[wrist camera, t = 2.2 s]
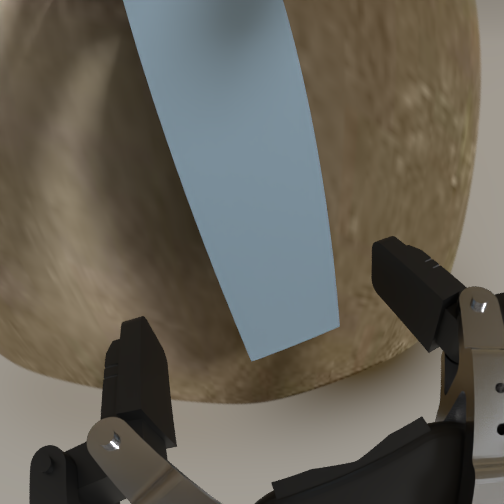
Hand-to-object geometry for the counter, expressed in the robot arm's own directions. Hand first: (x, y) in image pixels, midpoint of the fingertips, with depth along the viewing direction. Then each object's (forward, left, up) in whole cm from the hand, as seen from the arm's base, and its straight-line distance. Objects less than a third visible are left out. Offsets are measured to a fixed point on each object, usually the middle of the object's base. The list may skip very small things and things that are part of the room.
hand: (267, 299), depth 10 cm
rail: (-5, 0, -3) cm, 6 cm away
